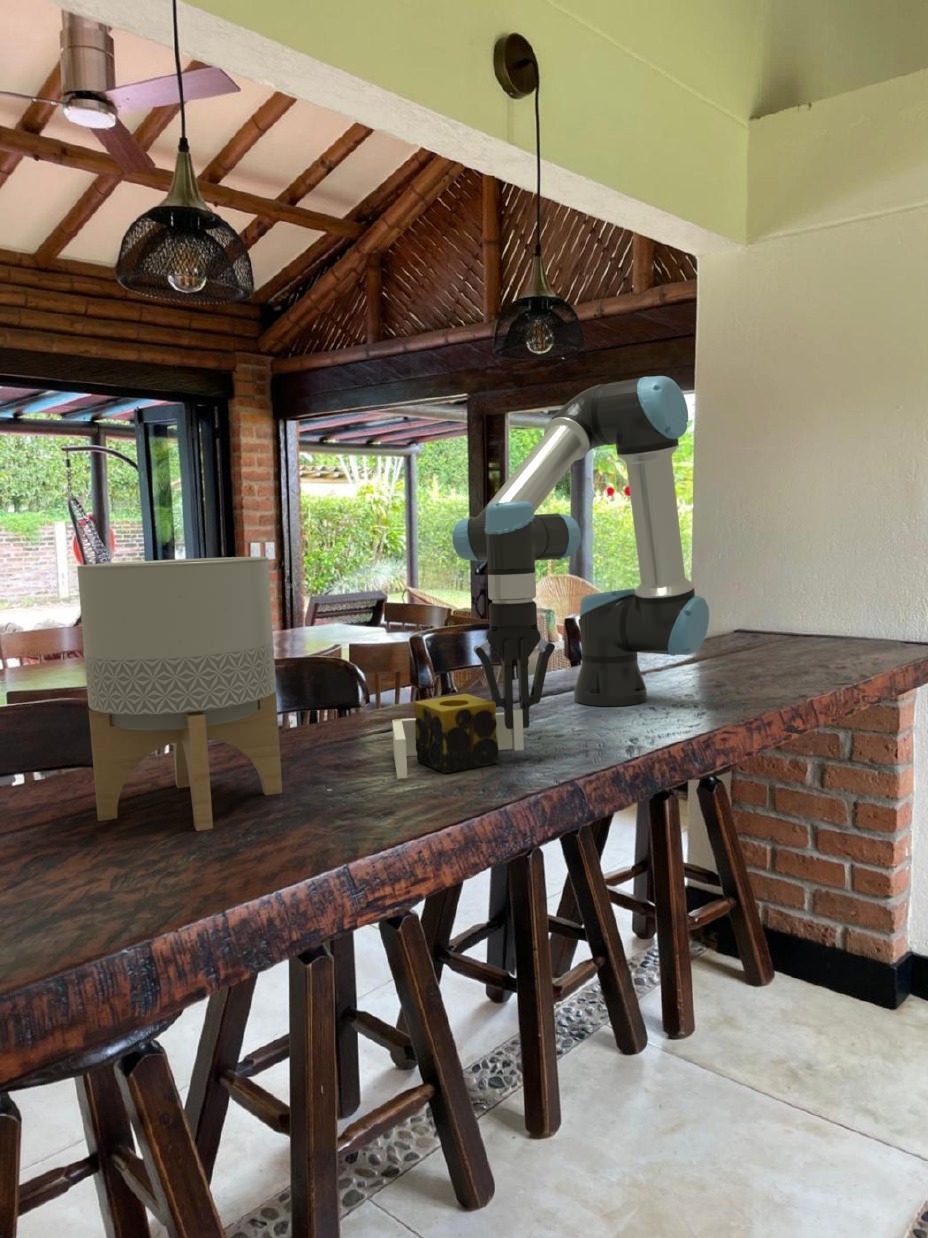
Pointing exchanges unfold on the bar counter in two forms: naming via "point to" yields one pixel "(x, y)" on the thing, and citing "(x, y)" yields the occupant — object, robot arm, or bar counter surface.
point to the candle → (456, 732)
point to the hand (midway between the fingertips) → (517, 748)
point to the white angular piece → (407, 743)
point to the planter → (179, 670)
